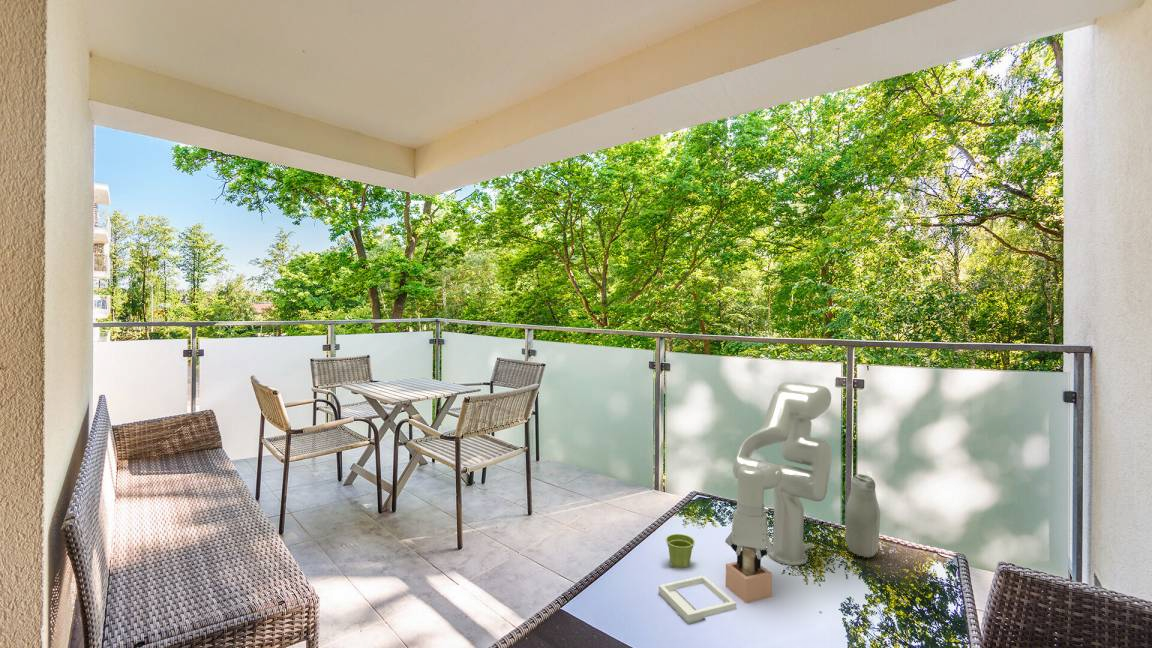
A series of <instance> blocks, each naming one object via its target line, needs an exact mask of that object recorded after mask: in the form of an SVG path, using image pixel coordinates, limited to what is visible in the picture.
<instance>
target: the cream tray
mask: <svg viewBox="0 0 1152 648" xmlns="http://www.w3.org/2000/svg"><path fill="white" fill-rule="evenodd" d="M699 584H703V585H704V586H705V587H707V589H709V590H710V591H711V592H712V593H713V594H714V595H716V596H717V597H718V598H719V599H720V600H722V602H723V603H719V604H715V605H711V606H706V607H704V608H699V609H696V608H695V607H694V606H693V605H692V604H691V603H690V602H689V601H688V600H687V599H686V598H685V597H684V596H683V595H682V594H681V593H680V592H679V591H677V590H678V589H683V588H688V587H691V586H696V585H699ZM658 594H659V596H660V597H661V598H662V599H663V600H665V602H666V603H667V604H668V605H669V606H670V607H671V609H673V610H674V611H675V612H676V613H677V614H678V615H679V616H680V617H681V619H682V620H683V621H685V623H686V624H687V625H690V624H694V623H698V622H702V621H706V620H707V619H706V618H705V617H708V616H709V617H710V616H713V615H717V614H720V613H725V612H728V611H729V612H730V611H733V610H737V602H736V601H735V600H734V599H732V598H731V597H730V596H729V595H728V594H726V593H725V592H724V591H723V590H722V589H721V588H719V586H717V584H715V583H713V582H712V581H711V580H710V579H709V578H708V577H706V576H705V575H704V574H702V575H699V576H694V577H690V578H685V579H680V580H676V581H672V582H671V581H670V582H666V583H662V584H659V585H658Z"/></svg>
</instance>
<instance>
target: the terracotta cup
mask: <svg viewBox="0 0 1152 648" xmlns="http://www.w3.org/2000/svg"><path fill="white" fill-rule="evenodd" d="M725 588H727V589H728V590H729V591H730V592H731V593H733V594H734V595H735V596H737V597H738V598H739V599H740V600H741V601H742V602H744V604H747V603H751V602H755V601H760V600H763V599H767V598H772V596H773V595H772V594H773V573H772V572H771V571H770V570H768V569H767V568H765V567H763V565H761V567H760V568H758V572H756V575H752V576H745V575H744V574H743V573H742V568H741V569H739V564H737V561H734V562H729V563H725Z"/></svg>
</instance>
